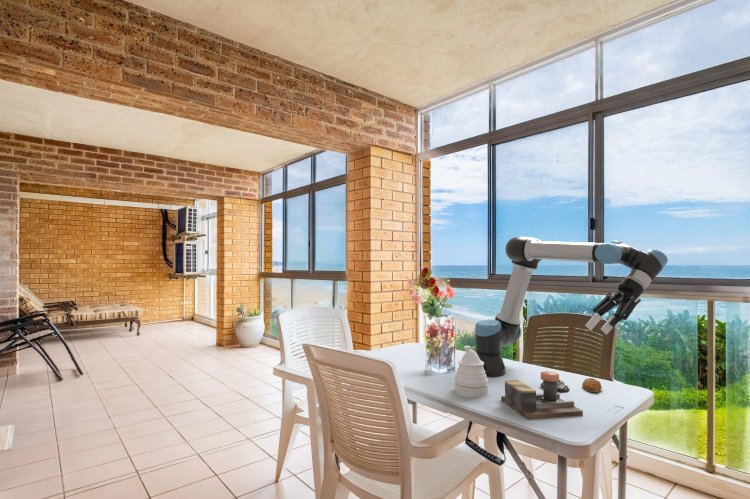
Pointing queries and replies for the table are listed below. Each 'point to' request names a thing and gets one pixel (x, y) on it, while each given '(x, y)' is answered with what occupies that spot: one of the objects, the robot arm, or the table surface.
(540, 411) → the brown sliding knob board
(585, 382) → the pastry
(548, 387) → the knob
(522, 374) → the table surface
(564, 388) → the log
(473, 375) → the honey pot
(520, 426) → the table surface
